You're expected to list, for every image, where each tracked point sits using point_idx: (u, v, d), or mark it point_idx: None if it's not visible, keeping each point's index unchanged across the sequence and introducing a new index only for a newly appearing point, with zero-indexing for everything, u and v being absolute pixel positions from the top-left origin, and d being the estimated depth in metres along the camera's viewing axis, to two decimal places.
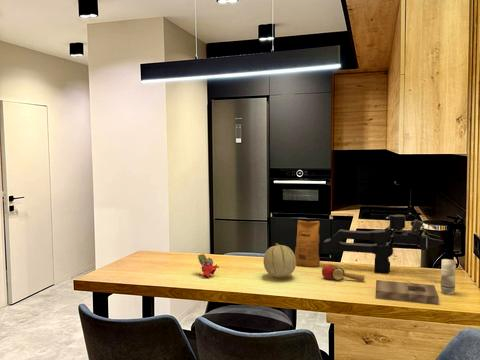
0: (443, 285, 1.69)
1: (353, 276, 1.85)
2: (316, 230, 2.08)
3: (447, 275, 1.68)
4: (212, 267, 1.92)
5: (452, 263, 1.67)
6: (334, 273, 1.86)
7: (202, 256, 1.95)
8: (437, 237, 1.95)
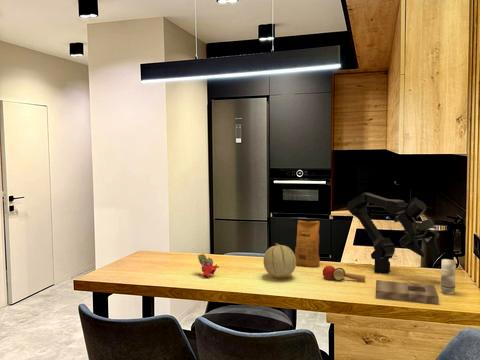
0: (443, 285, 1.69)
1: (354, 276, 1.85)
2: (316, 230, 2.08)
3: (447, 275, 1.68)
4: (212, 267, 1.92)
5: (452, 263, 1.67)
6: (335, 273, 1.86)
7: (202, 256, 1.95)
8: (436, 250, 1.79)
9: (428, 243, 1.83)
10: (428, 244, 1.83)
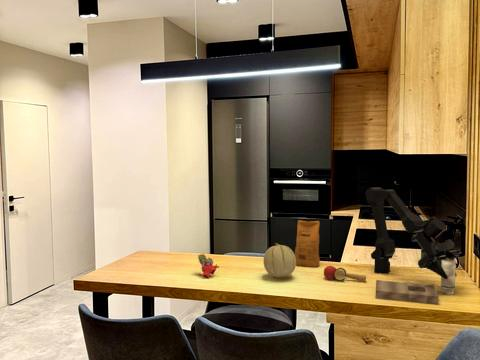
0: (443, 285, 1.69)
1: (355, 276, 1.85)
2: (316, 230, 2.08)
3: (447, 275, 1.68)
4: (212, 267, 1.92)
5: (452, 263, 1.67)
6: (336, 273, 1.85)
7: (202, 256, 1.95)
8: None
9: None
10: None
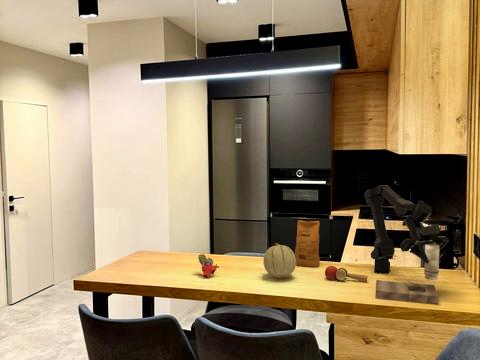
0: (425, 270, 1.66)
1: (356, 277, 1.85)
2: (316, 230, 2.08)
3: (428, 260, 1.65)
4: (212, 267, 1.92)
5: (434, 247, 1.63)
6: (337, 274, 1.85)
7: (202, 256, 1.95)
8: None
9: None
10: None
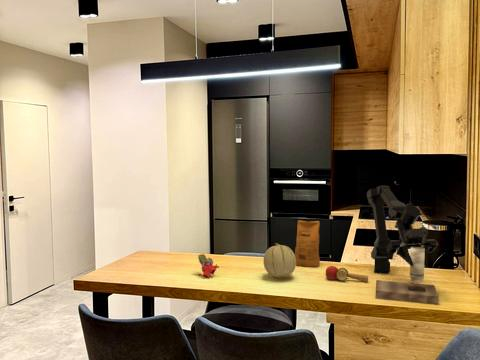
0: (410, 272, 1.66)
1: (357, 277, 1.85)
2: (316, 230, 2.08)
3: (413, 262, 1.64)
4: (212, 267, 1.92)
5: (418, 250, 1.63)
6: (338, 274, 1.85)
7: (202, 256, 1.95)
8: (424, 261, 1.65)
9: None
10: None
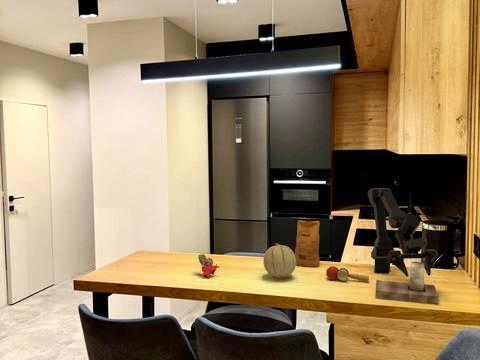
0: (410, 287, 1.66)
1: (358, 277, 1.84)
2: (316, 230, 2.08)
3: (412, 278, 1.65)
4: (212, 267, 1.92)
5: (417, 266, 1.63)
6: (339, 274, 1.85)
7: (202, 256, 1.95)
8: (428, 271, 1.66)
9: (424, 263, 1.70)
10: None
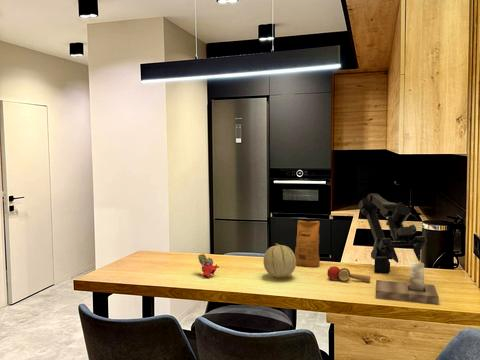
0: (410, 287, 1.66)
1: (359, 277, 1.84)
2: (316, 230, 2.08)
3: (412, 278, 1.65)
4: (212, 267, 1.92)
5: (417, 266, 1.63)
6: (340, 274, 1.85)
7: (202, 256, 1.95)
8: (418, 257, 1.75)
9: (414, 249, 1.79)
10: (414, 250, 1.79)
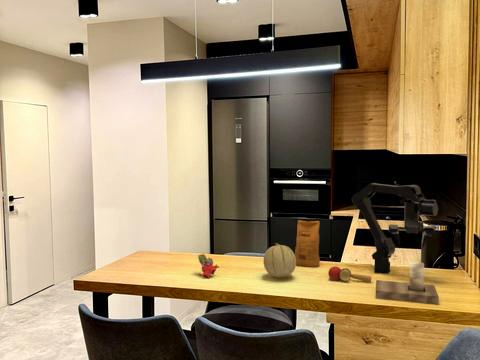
0: (410, 287, 1.66)
1: (360, 277, 1.84)
2: (316, 230, 2.08)
3: (412, 277, 1.65)
4: (212, 267, 1.92)
5: (417, 266, 1.63)
6: (341, 274, 1.84)
7: (202, 256, 1.95)
8: (421, 246, 1.88)
9: (423, 235, 1.89)
10: None
